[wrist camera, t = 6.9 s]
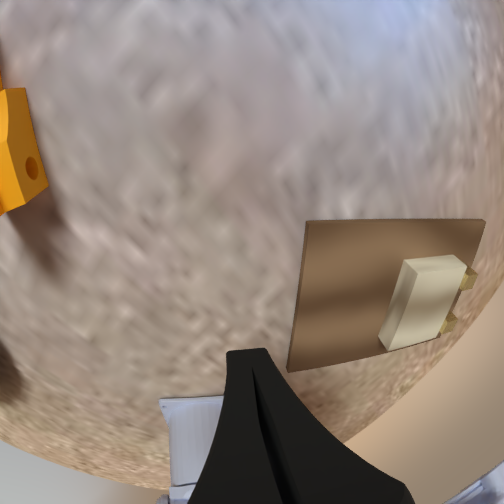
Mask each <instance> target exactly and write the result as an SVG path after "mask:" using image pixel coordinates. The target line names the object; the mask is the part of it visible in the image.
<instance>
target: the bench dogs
mask: <svg viewBox="0 0 504 504" xmlns="http://www.w3.org/2000/svg"><path fill="white" fill-rule="evenodd" d="M460 261H462V260H460ZM462 262H463V261H462ZM463 263H464V264H465V265H466V266H467V269H466V271H465V274H464V276H463V279H462V281H461V284H460V286H459V288H460V289H461V290H462V291H464V290H468V289H472V288H473V285H474V283H475V280H476V278H477V276H478V274H477V273H476V272H475V271H474V270H473V269H472V268H470V267H469V266H468V265H467V264H466V263H465V262H463ZM457 320H458V319H457V318H456V316H455V315H454V314H453V313H452V312H451V311H450V310H449V312H448V314H447V316H446V318H445V320H444V322H443V324H442V326H441V328H440V330H439V331H440V332H441V334H444V333H447V332H451V331H452V330H453V328H454V326H455V324H456V322H457Z"/></svg>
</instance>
